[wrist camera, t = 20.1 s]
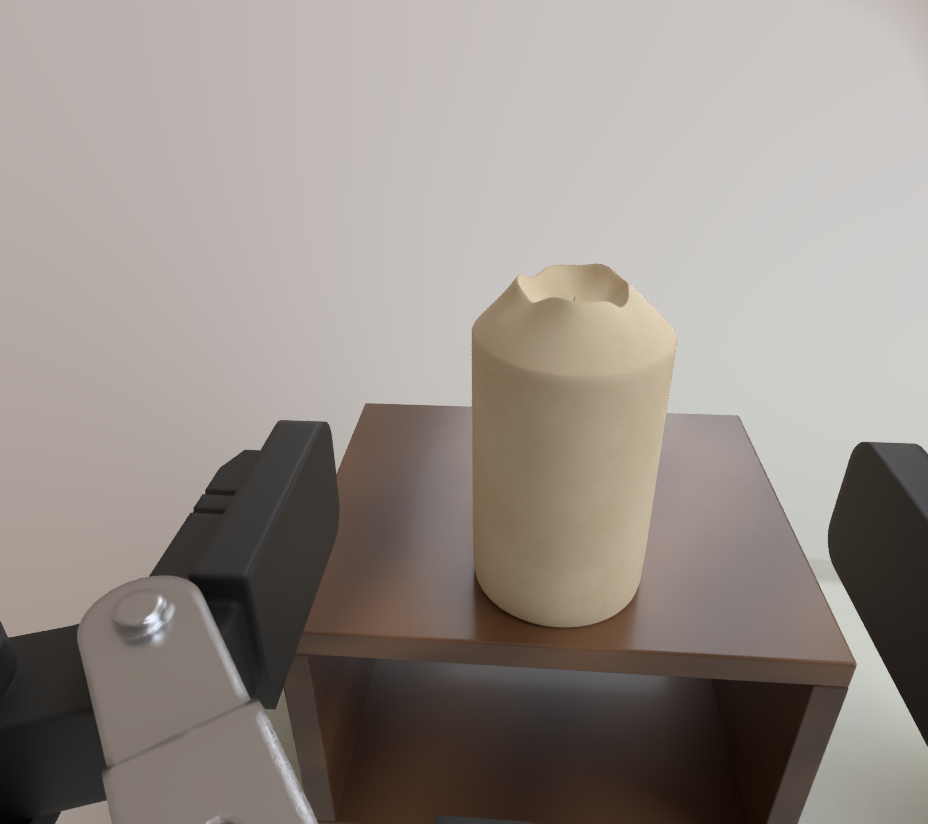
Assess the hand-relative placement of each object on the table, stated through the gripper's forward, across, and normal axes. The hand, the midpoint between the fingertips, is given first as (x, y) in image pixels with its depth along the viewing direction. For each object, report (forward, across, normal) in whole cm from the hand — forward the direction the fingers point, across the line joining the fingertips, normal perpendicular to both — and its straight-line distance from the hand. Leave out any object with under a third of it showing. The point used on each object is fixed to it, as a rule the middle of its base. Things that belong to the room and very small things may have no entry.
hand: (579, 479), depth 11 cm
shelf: (+13, 0, +21) cm, 24 cm away
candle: (+9, 0, +10) cm, 14 cm away
